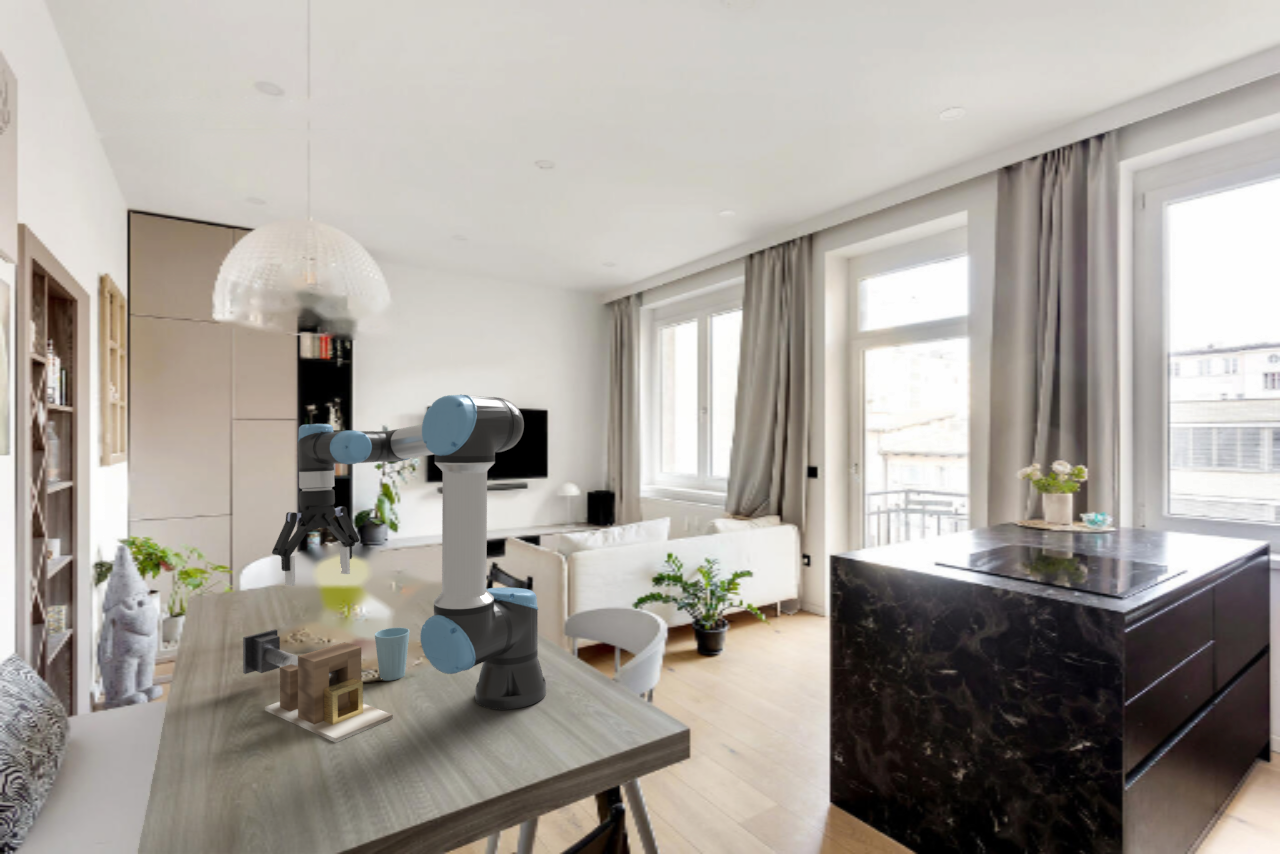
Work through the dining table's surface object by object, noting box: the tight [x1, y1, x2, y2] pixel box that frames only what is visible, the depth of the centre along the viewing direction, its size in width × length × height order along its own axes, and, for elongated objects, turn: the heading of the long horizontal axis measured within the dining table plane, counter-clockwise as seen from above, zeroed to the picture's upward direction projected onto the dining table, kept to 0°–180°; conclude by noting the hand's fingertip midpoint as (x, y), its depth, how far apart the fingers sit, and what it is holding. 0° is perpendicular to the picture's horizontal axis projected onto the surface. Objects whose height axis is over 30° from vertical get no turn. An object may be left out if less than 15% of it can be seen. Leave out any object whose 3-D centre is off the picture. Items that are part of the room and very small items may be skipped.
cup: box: [374, 627, 410, 682], centre depth 151 cm, size 8×8×10 cm
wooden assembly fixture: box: [264, 641, 394, 743], centre depth 131 cm, size 26×12×13 cm, turn 56°
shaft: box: [242, 629, 338, 684], centre depth 138 cm, size 29×7×8 cm, turn 56°
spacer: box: [324, 678, 364, 725], centre depth 128 cm, size 3×6×6 cm, turn 146°
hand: (318, 579), depth 152 cm, fingers open, 13 cm apart
